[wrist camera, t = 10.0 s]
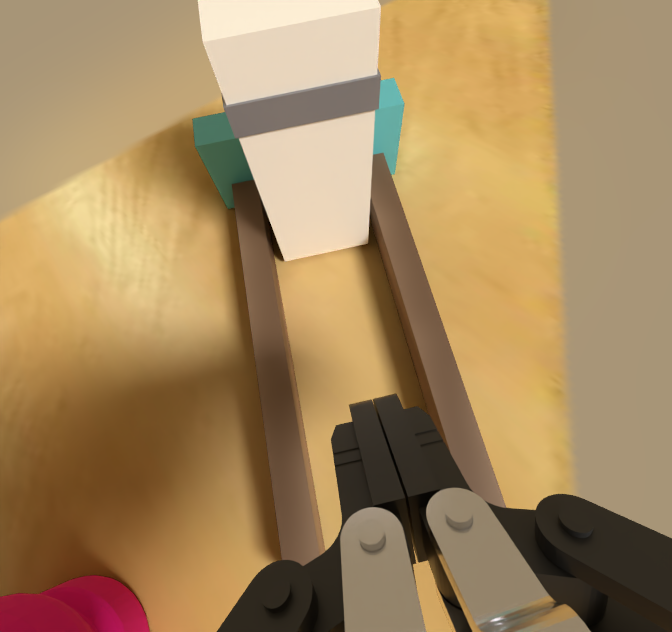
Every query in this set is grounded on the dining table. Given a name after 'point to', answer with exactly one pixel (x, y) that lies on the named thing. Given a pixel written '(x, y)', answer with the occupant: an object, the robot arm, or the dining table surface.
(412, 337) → the guide rails
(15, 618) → the pepper mill
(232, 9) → the sleeve
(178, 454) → the dining table surface
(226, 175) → the teal rectangular block
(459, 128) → the dining table surface
